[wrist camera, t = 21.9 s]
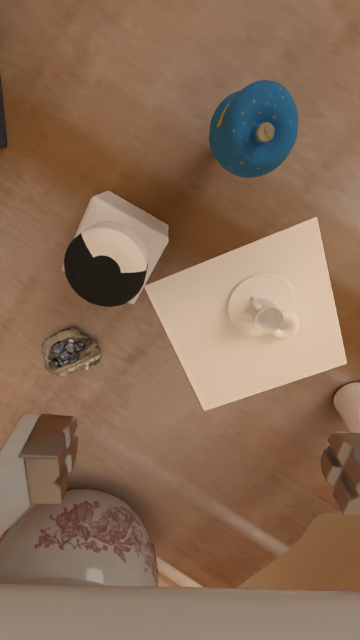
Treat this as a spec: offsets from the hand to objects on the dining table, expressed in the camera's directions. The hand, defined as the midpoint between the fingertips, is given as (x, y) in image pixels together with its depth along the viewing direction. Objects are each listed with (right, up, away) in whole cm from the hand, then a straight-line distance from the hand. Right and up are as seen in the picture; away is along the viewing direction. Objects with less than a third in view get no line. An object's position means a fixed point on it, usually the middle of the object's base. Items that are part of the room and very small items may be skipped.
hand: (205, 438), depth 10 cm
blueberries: (-14, 0, +30) cm, 33 cm away
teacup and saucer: (+8, +3, +29) cm, 30 cm away
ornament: (+3, +21, +20) cm, 29 cm away
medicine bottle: (-7, +13, +24) cm, 28 cm away
